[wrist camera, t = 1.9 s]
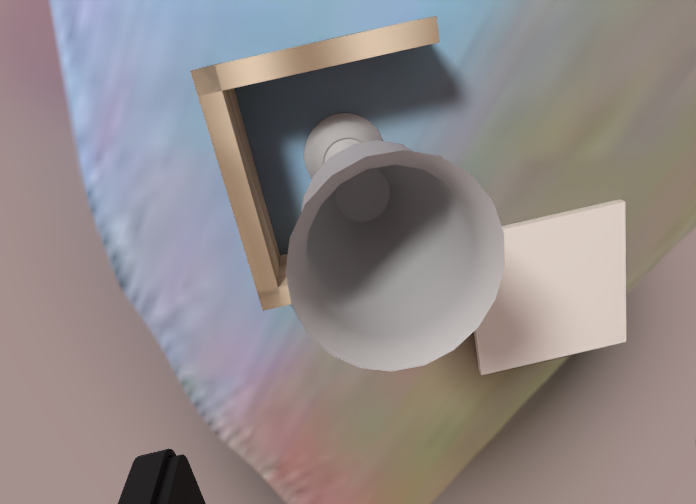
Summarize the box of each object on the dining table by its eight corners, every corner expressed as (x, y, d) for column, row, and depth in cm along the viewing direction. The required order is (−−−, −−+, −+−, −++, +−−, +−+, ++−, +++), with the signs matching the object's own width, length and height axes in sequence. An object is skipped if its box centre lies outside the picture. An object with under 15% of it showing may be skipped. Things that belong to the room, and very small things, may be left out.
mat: (620, 199, 36) (625, 201, 35) (621, 337, 40) (626, 341, 39) (460, 235, 36) (463, 238, 35) (478, 370, 40) (481, 375, 39)
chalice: (288, 93, 31) (281, 149, 15) (402, 94, 32) (520, 149, 15) (290, 212, 34) (288, 375, 17) (396, 211, 35) (491, 367, 18)
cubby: (414, 20, 31) (436, 16, 26) (445, 234, 36) (468, 263, 31) (206, 66, 30) (190, 71, 26) (266, 275, 35) (262, 310, 31)
